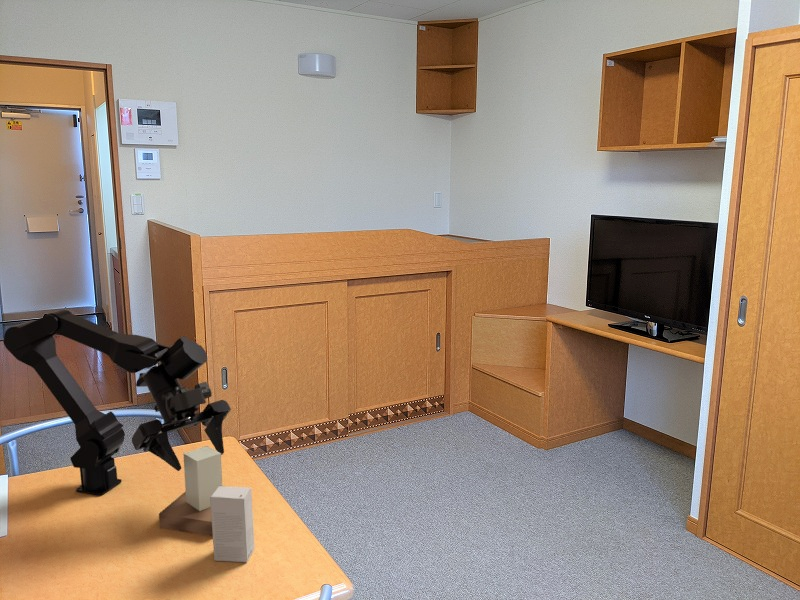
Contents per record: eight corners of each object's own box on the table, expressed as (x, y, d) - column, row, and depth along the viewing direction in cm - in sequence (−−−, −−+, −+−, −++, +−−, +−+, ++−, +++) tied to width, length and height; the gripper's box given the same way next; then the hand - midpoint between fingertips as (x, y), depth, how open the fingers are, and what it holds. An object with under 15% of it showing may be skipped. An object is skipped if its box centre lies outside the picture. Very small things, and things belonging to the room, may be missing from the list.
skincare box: (255, 549, 117) (252, 486, 114) (247, 563, 113) (244, 499, 110) (222, 547, 117) (218, 485, 115) (213, 561, 113) (209, 497, 111)
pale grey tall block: (186, 502, 127) (183, 453, 125) (209, 493, 130) (207, 445, 129) (199, 511, 123) (197, 461, 122) (223, 501, 127) (220, 453, 125)
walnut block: (160, 530, 124) (158, 513, 123) (195, 499, 135) (194, 484, 134) (217, 540, 121) (216, 522, 120) (248, 507, 132) (247, 491, 131)
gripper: (134, 383, 118) (170, 458, 114) (223, 361, 132) (259, 427, 127) (117, 413, 125) (150, 486, 120) (203, 389, 139) (236, 453, 134)
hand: (201, 461), depth 125 cm, fingers open, 9 cm apart
